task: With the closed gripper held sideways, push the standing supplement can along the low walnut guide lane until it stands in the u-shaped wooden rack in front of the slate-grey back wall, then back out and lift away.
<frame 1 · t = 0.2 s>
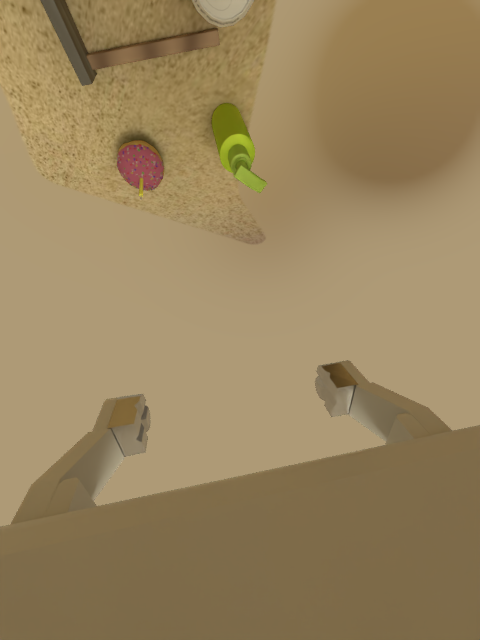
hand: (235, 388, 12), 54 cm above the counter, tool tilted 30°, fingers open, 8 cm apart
cupcake: (142, 155, 50), on the counter
soap dispenser: (228, 123, 48), on the counter
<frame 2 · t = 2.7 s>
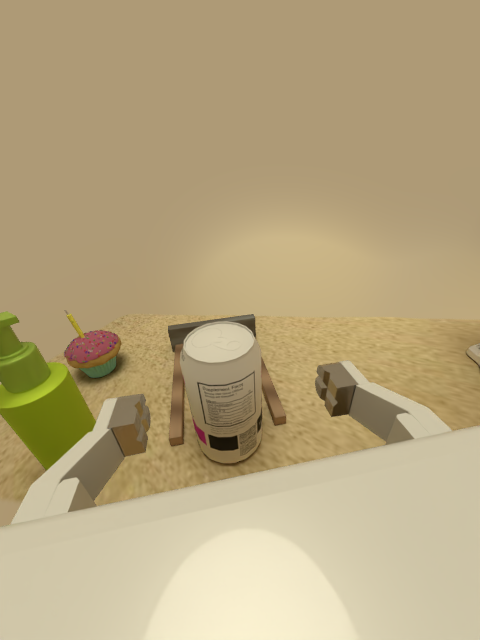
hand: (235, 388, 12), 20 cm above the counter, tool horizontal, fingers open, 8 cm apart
supplement can: (230, 435, 32), on the counter
u-shaped wooden rack: (218, 364, 44), on the counter
cupcake: (103, 369, 45), on the counter
soap dispenser: (79, 466, 30), on the counter
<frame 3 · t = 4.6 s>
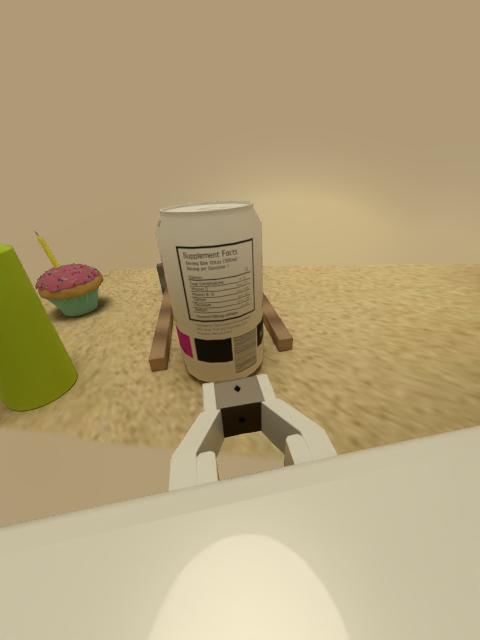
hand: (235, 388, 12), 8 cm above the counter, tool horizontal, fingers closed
supplement can: (224, 361, 26), on the counter
u-shaped wooden rack: (213, 303, 38), on the counter
cupcake: (83, 310, 39), on the counter
soap dispenser: (39, 391, 24), on the counter
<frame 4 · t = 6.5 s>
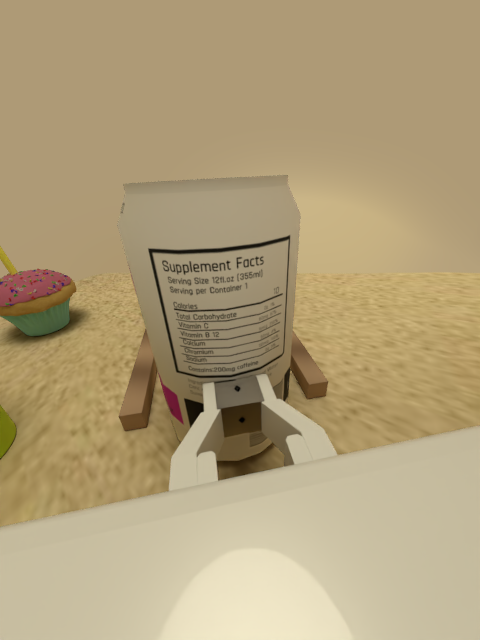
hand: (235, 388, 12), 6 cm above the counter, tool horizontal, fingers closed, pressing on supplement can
supplement can: (230, 414, 18), on the counter, touching gripper
u-shaped wooden rack: (214, 320, 30), on the counter
cupcake: (50, 327, 31), on the counter
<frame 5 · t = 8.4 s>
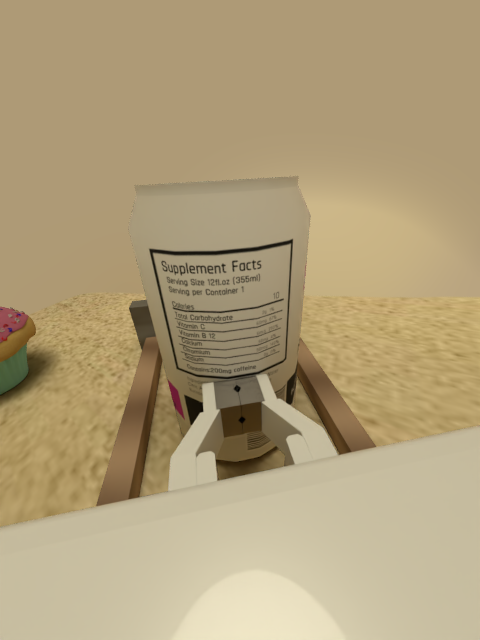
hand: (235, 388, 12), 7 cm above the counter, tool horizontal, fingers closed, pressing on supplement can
supplement can: (236, 414, 18), on the counter, touching gripper
u-shaped wooden rack: (227, 377, 22), on the counter
cupcake: (0, 383, 23), on the counter
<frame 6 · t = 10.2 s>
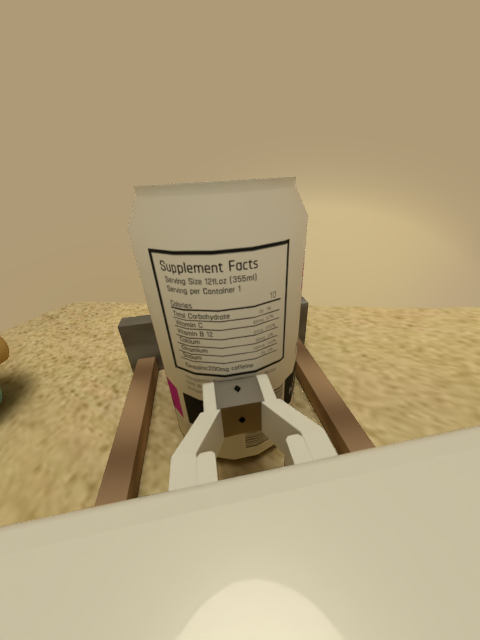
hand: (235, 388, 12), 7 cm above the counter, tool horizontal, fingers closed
supplement can: (235, 412, 19), on the counter
u-shaped wooden rack: (231, 409, 19), on the counter
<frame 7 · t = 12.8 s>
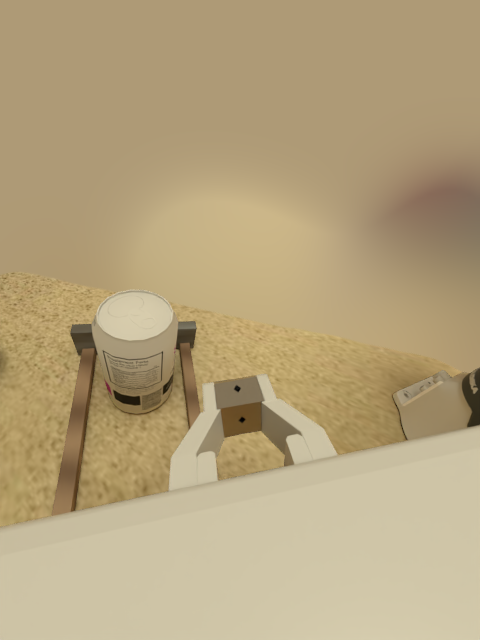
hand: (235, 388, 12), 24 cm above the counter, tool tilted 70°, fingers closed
supplement can: (142, 387, 35), on the counter
u-shaped wooden rack: (139, 386, 35), on the counter
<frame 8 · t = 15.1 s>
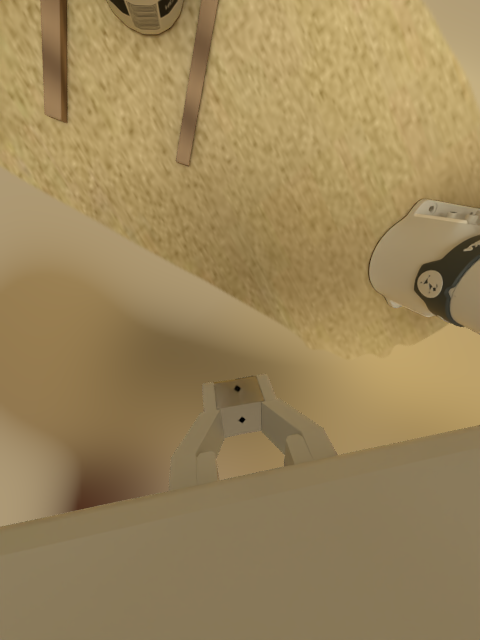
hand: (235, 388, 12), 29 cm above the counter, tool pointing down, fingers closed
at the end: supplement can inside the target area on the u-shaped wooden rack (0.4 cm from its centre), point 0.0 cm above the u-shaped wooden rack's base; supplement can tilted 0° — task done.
